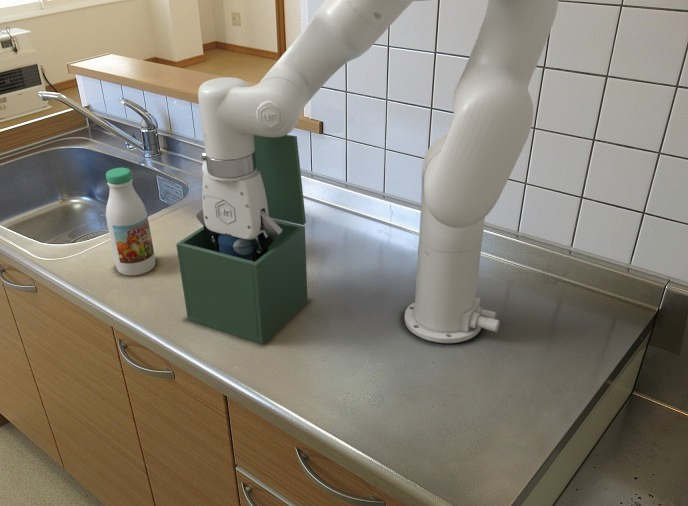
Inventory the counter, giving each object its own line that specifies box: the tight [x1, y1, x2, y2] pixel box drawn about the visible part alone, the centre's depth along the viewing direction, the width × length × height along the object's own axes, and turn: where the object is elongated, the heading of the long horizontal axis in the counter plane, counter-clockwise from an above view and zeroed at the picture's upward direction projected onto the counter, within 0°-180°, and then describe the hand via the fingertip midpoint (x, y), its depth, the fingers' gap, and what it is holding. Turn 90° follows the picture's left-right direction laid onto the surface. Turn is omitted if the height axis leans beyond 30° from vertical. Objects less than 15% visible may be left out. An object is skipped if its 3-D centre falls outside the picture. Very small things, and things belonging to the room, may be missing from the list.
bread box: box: [175, 218, 309, 345], centre depth 113 cm, size 15×16×15 cm
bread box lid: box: [254, 134, 307, 226], centre depth 110 cm, size 15×16×1 cm
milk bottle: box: [105, 167, 156, 276], centre depth 128 cm, size 8×8×20 cm
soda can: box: [218, 233, 261, 261], centre depth 111 cm, size 7×7×12 cm
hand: (242, 264), depth 111 cm, fingers closed on soda can, 7 cm apart
